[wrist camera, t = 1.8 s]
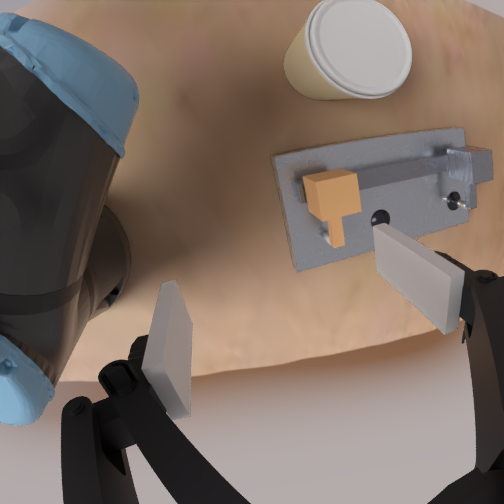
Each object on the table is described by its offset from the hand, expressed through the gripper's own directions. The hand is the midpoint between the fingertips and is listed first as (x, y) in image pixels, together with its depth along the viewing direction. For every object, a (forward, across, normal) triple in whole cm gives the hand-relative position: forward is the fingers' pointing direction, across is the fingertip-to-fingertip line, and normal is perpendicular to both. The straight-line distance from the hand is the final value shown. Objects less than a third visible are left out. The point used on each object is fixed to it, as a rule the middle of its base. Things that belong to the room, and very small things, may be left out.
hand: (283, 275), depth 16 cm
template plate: (+20, +17, -3) cm, 26 cm away
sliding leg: (+17, +8, -2) cm, 19 cm away
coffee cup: (+20, +11, +13) cm, 26 cm away
